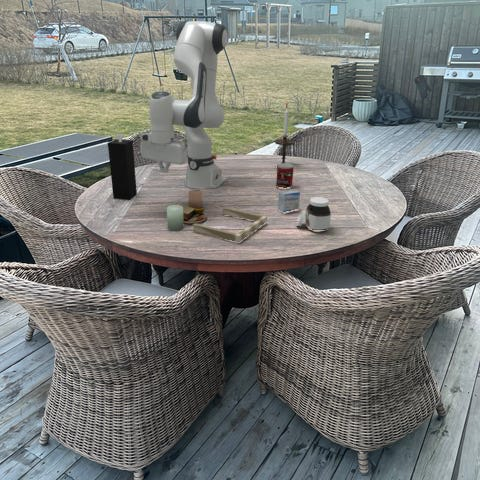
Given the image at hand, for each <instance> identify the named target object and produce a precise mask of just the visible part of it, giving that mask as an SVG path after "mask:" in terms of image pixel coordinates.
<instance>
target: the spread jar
mask: <svg viewBox="0 0 480 480" xmlns="http://www.w3.org/2000/svg"><path fill="white" fill-rule="evenodd" d="M309 200H310V201H309V204H308V205H307V206H306V208H305V210H304V209H302V210H301V211H300V213H299V216H298V217H297V221H299V222H298V224H297V226H300V227H301V226H302V225H303V222H304V221H305V222H304V223H305V226H306V225H307V226H308V227H309V228H311V229H312V230H326V229H328V230H329V228H330V225H331V215H332V212H331V208H330V206H329V203H330V201H329V199H328V198H326V197H320V196H315V197H311V198H310V199H309ZM297 221H296V222H297ZM297 226H296V227H297ZM326 231H327V230H326Z"/></svg>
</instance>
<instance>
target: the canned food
mask: <svg viewBox="0 0 480 480" xmlns="http://www.w3.org/2000/svg"><path fill="white" fill-rule="evenodd" d="M280 163H281V164H278V163H277V164H278V165H277V168H276V183H275V185H276V187H277V186H278V187H283V188H287V187H291V186H292V187H293V183H294V182H293V181H294V180H293V179H294V164H291V163H288V162H287V163H286V162H285V163H282V162H280Z"/></svg>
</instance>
